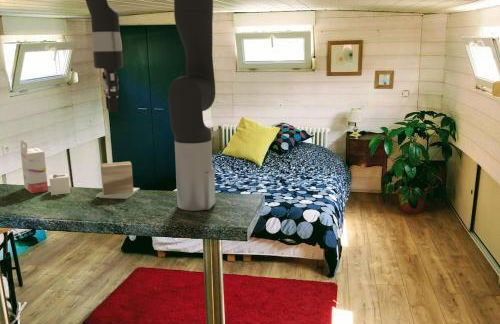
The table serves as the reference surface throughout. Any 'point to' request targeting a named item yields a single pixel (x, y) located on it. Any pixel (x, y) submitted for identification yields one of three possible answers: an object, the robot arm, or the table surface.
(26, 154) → the ink cartridge box
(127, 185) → the birch block
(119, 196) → the sage mat
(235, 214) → the table surface
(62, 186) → the marked cube
